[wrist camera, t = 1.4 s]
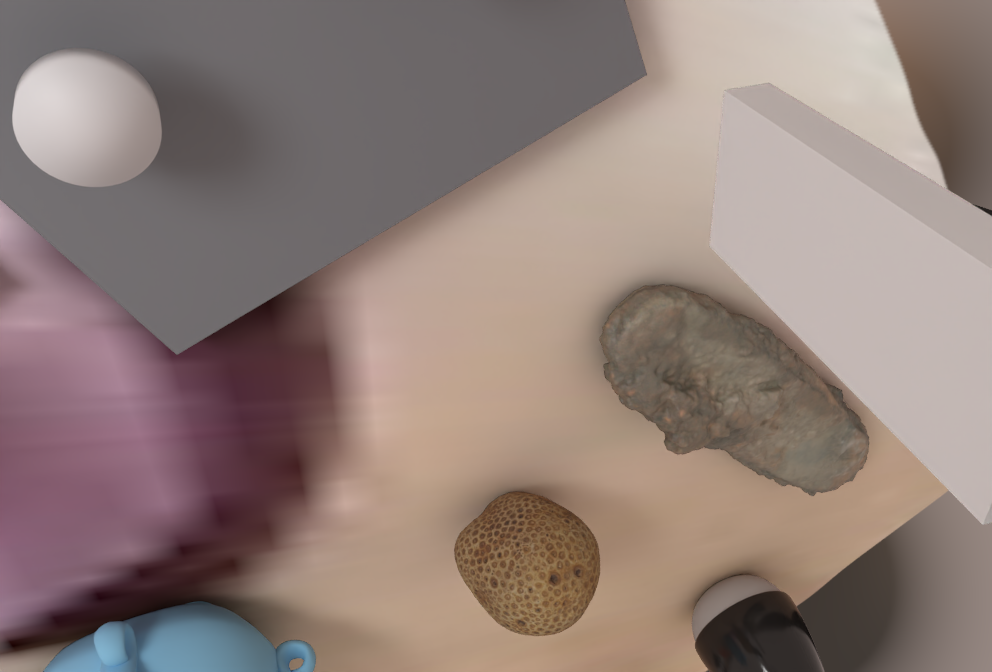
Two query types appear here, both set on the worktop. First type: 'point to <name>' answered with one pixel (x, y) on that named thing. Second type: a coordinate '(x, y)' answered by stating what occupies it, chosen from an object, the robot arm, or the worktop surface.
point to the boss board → (272, 129)
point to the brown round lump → (529, 563)
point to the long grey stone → (730, 389)
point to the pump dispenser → (752, 629)
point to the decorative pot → (181, 645)
